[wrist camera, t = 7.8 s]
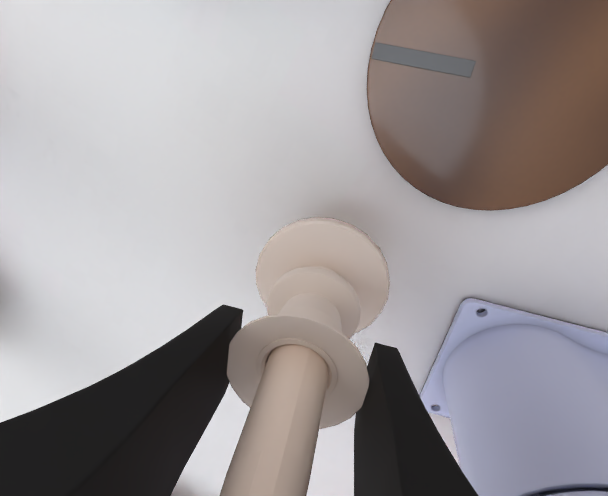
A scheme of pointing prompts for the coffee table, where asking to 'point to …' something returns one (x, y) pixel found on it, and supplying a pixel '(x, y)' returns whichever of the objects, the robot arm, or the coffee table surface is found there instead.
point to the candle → (302, 351)
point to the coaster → (491, 97)
